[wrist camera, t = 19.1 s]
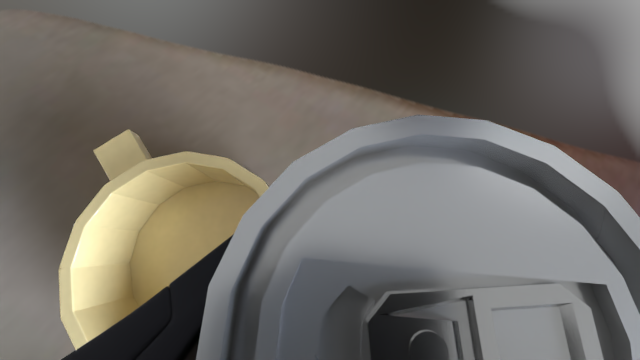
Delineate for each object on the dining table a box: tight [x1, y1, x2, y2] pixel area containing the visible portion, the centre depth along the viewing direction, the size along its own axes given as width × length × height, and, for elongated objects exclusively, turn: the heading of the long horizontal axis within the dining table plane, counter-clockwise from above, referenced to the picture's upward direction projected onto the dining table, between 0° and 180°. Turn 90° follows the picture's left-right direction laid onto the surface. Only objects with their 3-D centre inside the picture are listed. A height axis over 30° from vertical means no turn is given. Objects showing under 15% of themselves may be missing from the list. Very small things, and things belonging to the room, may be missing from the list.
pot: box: [59, 129, 269, 350], centre depth 18 cm, size 12×18×6 cm
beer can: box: [196, 115, 640, 360], centre depth 9 cm, size 5×5×12 cm
